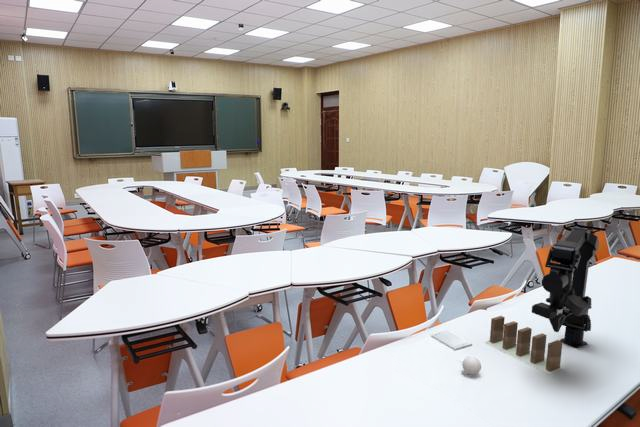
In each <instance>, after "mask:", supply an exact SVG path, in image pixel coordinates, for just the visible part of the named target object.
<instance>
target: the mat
mask: <svg viewBox="0 0 640 427" xmlns="http://www.w3.org/2000/svg"><path fill="white" fill-rule="evenodd" d="M484 343H485V344H486V345H488V346H490V347H493V348H495V349H497V350H499V351H500V352H503V353H504V354H507V355H508V356H511V357H513V358H514V359H517V360H518V361H520V362H522V363H524V364H526V365H529V366H530V367H533V368H534V369H536V370H538V371H540V372H542V373H545V374H547V375H550V374H553V373H556V372H558V371H561V370H562V369H566V366H564V365H561V364H560V368H558V369H556V370H554V371H551V372H550V371H547V370H546V360H547V357H544V361H541V362H539V363H536V364H533V363H531V362H530V358H531V350H530V353H529V354H526V355H524V356H521V357H519V356H517V355H516V347H517V343H516V347H514V348H511V349H508V350H505V349H503V348H502V347H503V341H500V342H497V343H494V344H493V343H491V342H490V340H488V341H484Z"/></svg>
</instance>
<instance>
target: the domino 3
mask: <svg viewBox="0 0 640 427" xmlns="http://www.w3.org/2000/svg"><path fill="white" fill-rule="evenodd" d="M532 329H533V328H531V327H528V326H527V327H523V328H520V329H517V338H516V344H517V347H516V355H517V356H519V357H521V356H524V355H526V354H529V353H530V351H531V344H532V331H533V330H532Z"/></svg>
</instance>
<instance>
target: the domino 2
mask: <svg viewBox="0 0 640 427" xmlns="http://www.w3.org/2000/svg"><path fill="white" fill-rule="evenodd" d="M518 324H519V323H518V322H517V321H509V322H506V323H504V332H503V347H502V348H503V349H505V350H508V349H511V348H514V347H516V344H517V335H518V327H519V326H518Z"/></svg>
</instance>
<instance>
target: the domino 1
mask: <svg viewBox="0 0 640 427" xmlns="http://www.w3.org/2000/svg"><path fill="white" fill-rule="evenodd" d="M504 324H505V316H502V315H499V316H496V317H492V318H491V320H490V333H489V334H490V335H489V341H490V342H491V343H493V344H494V343H497V342H500V341H503V334H504Z"/></svg>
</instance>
